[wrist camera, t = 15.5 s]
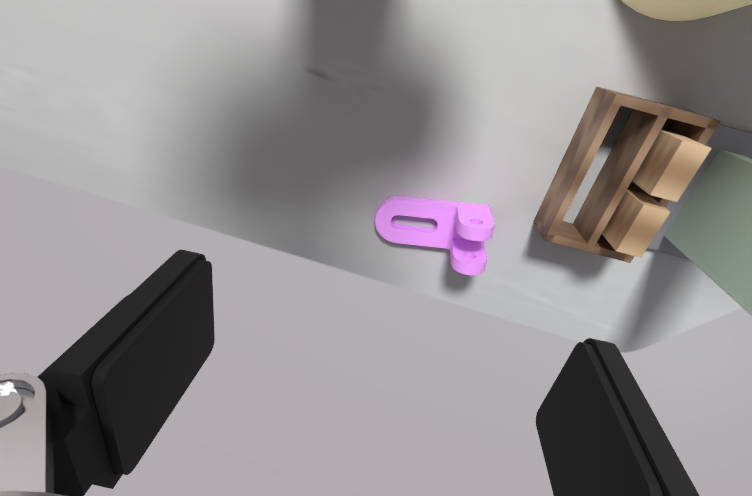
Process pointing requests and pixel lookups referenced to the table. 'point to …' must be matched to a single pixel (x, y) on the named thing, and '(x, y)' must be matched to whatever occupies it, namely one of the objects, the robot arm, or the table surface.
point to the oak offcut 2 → (670, 165)
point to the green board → (720, 226)
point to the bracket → (441, 229)
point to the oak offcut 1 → (635, 222)
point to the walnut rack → (609, 167)
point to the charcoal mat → (719, 140)
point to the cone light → (684, 8)
